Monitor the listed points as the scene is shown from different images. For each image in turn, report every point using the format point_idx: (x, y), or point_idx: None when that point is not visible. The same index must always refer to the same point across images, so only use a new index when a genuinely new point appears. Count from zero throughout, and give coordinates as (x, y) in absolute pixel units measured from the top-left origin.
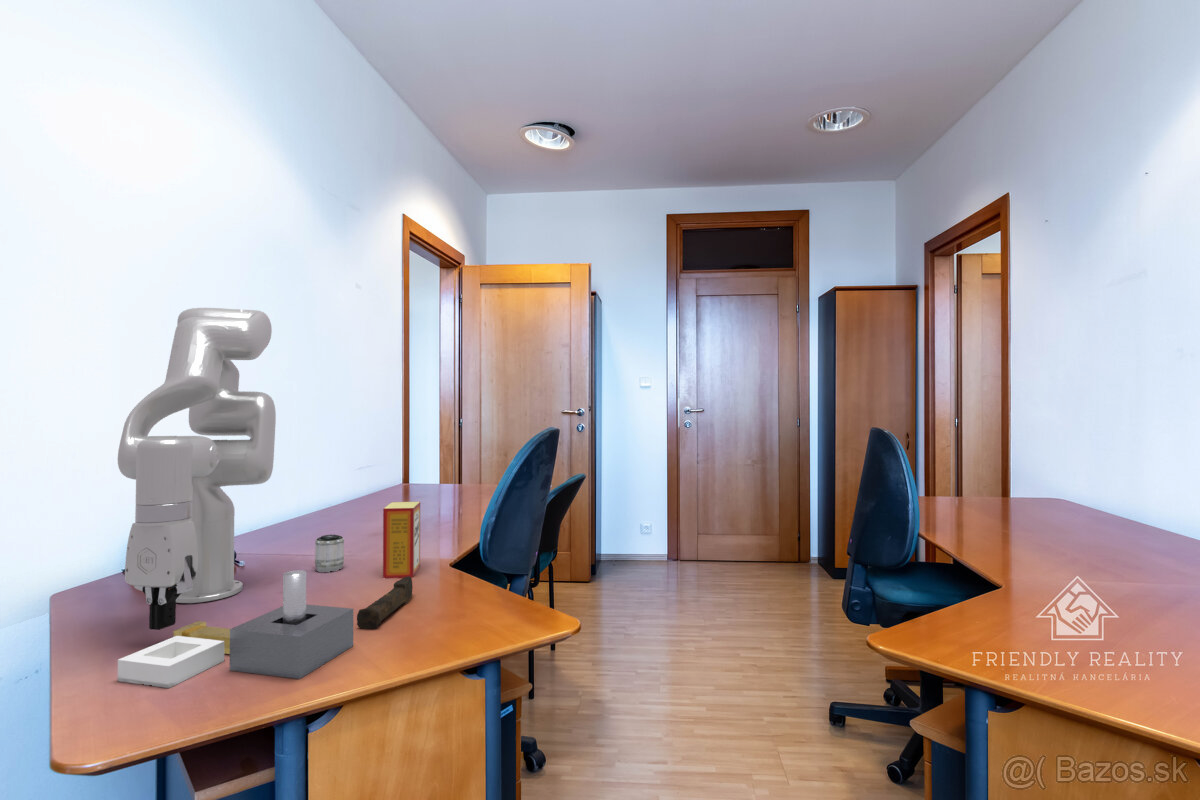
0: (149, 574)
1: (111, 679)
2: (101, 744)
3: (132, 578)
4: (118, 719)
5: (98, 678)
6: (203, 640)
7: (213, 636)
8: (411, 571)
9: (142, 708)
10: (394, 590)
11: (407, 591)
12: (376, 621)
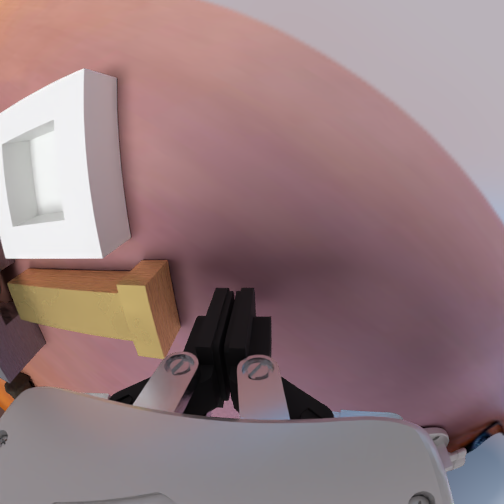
0: (131, 485)
1: (140, 75)
2: (2, 13)
3: (345, 460)
4: (16, 35)
5: (178, 63)
6: (29, 249)
7: (54, 287)
8: None
9: (9, 66)
10: None
11: None
12: None
